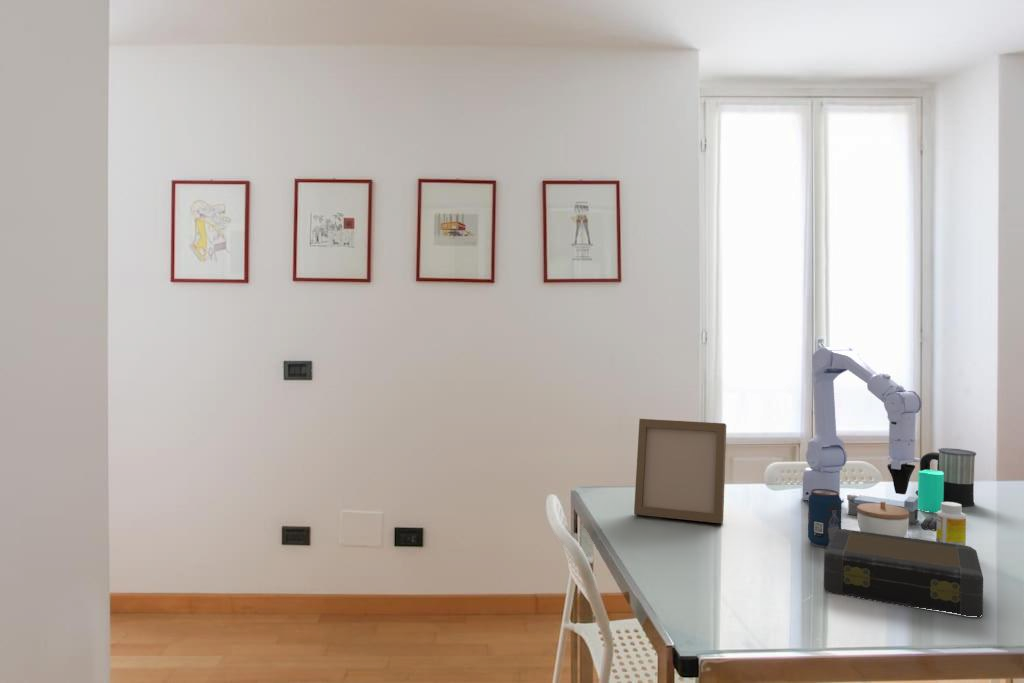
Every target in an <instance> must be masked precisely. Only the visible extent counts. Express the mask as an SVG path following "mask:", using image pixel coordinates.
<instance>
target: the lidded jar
mask: <svg viewBox="0 0 1024 683" xmlns="http://www.w3.org/2000/svg"><path fill="white" fill-rule="evenodd" d="M856 517H857V519H856V520H857V524H858V528H859V531H861V532H869V533H876V534H883V535H891V536H898V537H906V536H907V533H908V530H909V525H910V524H909V511H908V510H906V509H904V508H901V507H898V506H893V505H887V504H885V502H883V501H881V502H880V504H877V503H866V504H860V505H858V506H857V516H856Z"/></svg>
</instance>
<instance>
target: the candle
mask: <svg viewBox="0 0 1024 683" xmlns="http://www.w3.org/2000/svg"><path fill="white" fill-rule="evenodd" d="M917 472H918V473H917V478H918V479H917V490H918V496H917V498H918V509H920V510H923V511H922V512H924V511H929V512H938V511H940V510H941V503H942V502H943V499H944V473H943V471H937V469H936V470H935V469H930V470H923V471H920V470H918V471H917ZM920 510H919V511H920ZM929 512H928V513H929Z"/></svg>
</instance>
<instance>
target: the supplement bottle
mask: <svg viewBox="0 0 1024 683" xmlns="http://www.w3.org/2000/svg"><path fill="white" fill-rule="evenodd" d="M962 510H963V506H962V505H961V504H958V503H954V502H942V503H941V510H940V511H938V512H937V513H936V516H937V528H936V529H935V530H936V531H935V533H936V535H935V536H936V538H935V539H936V541H935V542H943V543H950V544H957V545H965V546H967V545H966V542H967V541H966V538H967V535H966V534H967V533H966V531H967V530H966V529H967V528H966V527H967V523H966V522H967V517H966V516H967V515H966V514H965V513H964V512H963V511H962Z"/></svg>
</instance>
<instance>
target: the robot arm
mask: <svg viewBox="0 0 1024 683" xmlns="http://www.w3.org/2000/svg"><path fill="white" fill-rule="evenodd" d="M811 360H812V390H813V392H812V394H813V410H814V411H813V413H814V431H815V435H813V437H812V438H811V439H810V440H809V441H808V442H807V451H806V453H805V459H806V463H807V465H808V466H809V467H806V468H804V470H803V474H802V497H801V500H802V501H807V500H808V499H809V496H810V494H811V493H812V492H811V491H812V490H813V489H828V490H833V491H837V492H838V493H839V497H840V499H841V501H842V502H843V501H845V498H844V497H841V494H840V493H841V490H840V489H841V471H842V470H843V467H845V465H846V464H847V460H848V455H847V451H846V450H845V445H844V441H843V440H842V439H841V438H840V437H838V436H837V426H836V425H837V423H836V420H837V419H836V405H835V387H834V384H835V383H834V381H835V379H837V377H838V376H839V375H841V374H843V373H845V372H847V371H849V372H850V373H852V374H853V375H854V376H856V377H857V378H858V379H860V380H862V381H863V382H864V383H866V384H867V386H866V387H867V390H868V391H869V392H870V394H873V396H875V397H876V398H877V399H878V400H880V401H881V402H882V403H883V406H884V409H885V412H886V413H887V419H888V421H889V422H888V423H889V425H888V455H887V460H888V461H889V462H890V463H889V464H887V465H886V466H887V470H888V471H889V473H890V475H891V479H892V483H893V484H892V485H893V488H894V492H895V494H899V495H903V496H904V495H906V494H907V491H908V488H909V482H910V479H911V476H912V474H913V472H914V470H915V469H916V465H915V464H911V463H919V462H920V461H921V458H920V457H916V455H915V454H916V450H915V448H916V414H917V413H919V412H920V411H921V408H922V403H923V402H922V399H921V397H920V396H919V394H918V393H917V392H916V391H914V390H906V389H905V388H904V387H903V385H899V384H898V383H897V382H895V381H894V380H893V379H891V375H890V374H888V373H886V374H885V373H877V372H876V371H874V369H872V368H871V367H870V366H869V365H868V364H867V363H866V362H865V361H864V360H862V358H860V357H859V353H858V351H855V350H854V349H853V348H852V347H849V346H843V347H842V346H838V347H836V346H833V347H832V346H831V347H830V346H829V347H828V346H827V347H826V346H819V347H818V348H817V349H816V350H815V351H814V352H813V354H812V355H811Z"/></svg>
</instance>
